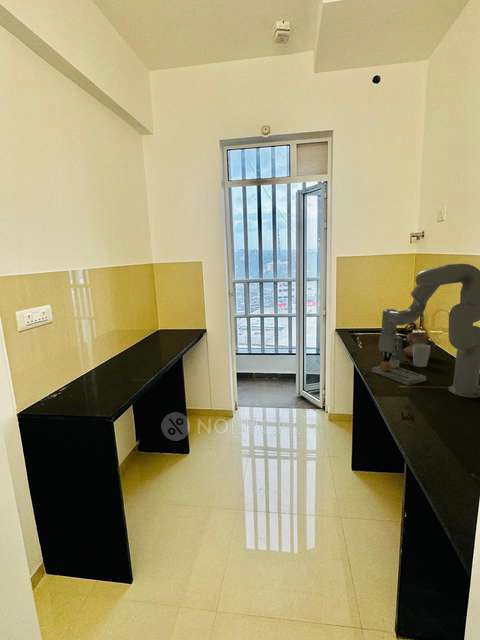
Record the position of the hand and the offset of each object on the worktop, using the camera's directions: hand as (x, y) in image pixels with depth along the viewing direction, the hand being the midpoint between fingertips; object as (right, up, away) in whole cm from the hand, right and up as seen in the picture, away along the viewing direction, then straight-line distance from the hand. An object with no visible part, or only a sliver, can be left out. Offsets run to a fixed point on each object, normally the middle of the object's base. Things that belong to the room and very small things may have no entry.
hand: (386, 363), depth 189 cm
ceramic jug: (+30, +1, +23) cm, 37 cm away
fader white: (+2, -1, -4) cm, 5 cm away
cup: (+22, -2, +6) cm, 23 cm away
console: (+1, -6, -11) cm, 12 cm away
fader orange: (-5, -2, -9) cm, 10 cm away
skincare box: (+10, -1, +14) cm, 17 cm away
